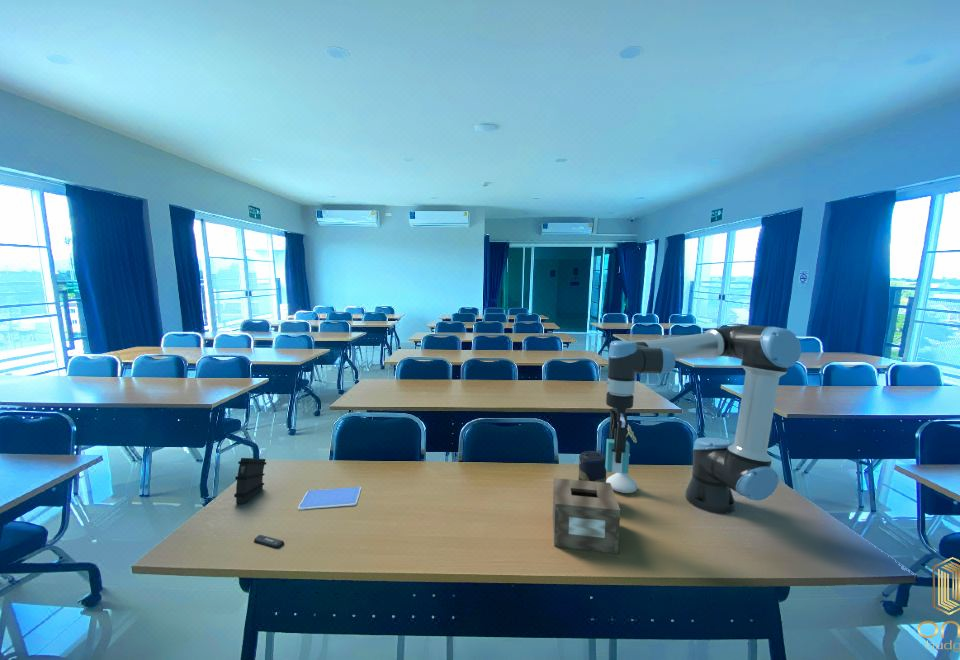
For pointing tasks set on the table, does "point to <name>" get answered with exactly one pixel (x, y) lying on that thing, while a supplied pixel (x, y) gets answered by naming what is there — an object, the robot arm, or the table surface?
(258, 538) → the usb stick
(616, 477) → the flower in vase
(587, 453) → the canister
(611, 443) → the block
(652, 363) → the robot arm
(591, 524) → the suggestion box
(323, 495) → the tablet computer
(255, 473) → the black flat ridged block
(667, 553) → the table surface
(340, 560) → the table surface
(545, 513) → the table surface
